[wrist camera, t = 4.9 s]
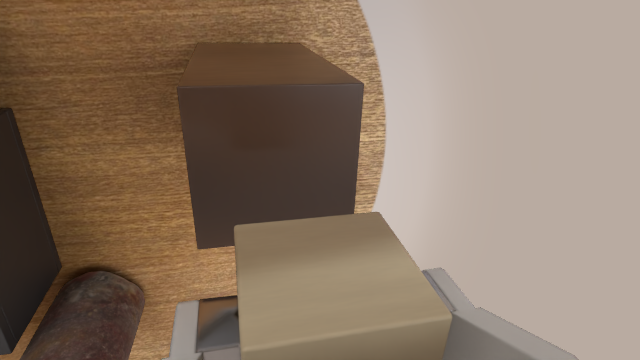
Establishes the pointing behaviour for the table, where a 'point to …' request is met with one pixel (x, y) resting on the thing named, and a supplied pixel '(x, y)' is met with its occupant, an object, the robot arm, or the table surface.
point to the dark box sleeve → (21, 239)
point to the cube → (334, 292)
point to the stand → (267, 136)
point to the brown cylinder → (89, 320)
